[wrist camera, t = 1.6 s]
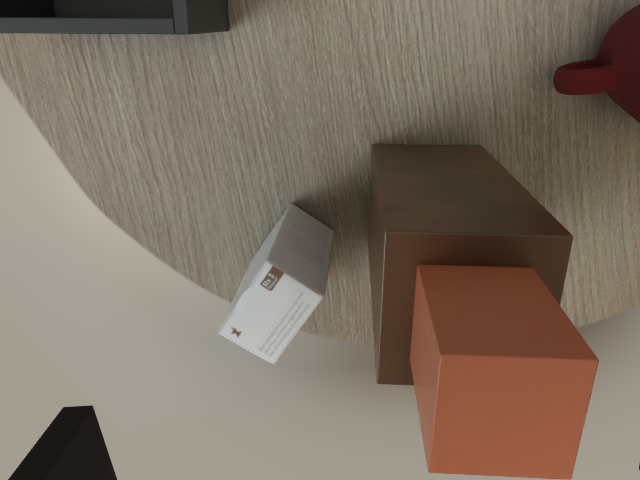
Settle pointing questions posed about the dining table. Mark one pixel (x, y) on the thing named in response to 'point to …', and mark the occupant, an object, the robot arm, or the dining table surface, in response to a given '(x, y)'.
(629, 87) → the mug
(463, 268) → the block
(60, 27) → the bin
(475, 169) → the stand
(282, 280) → the cosmetic box
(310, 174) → the dining table surface
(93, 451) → the robot arm
